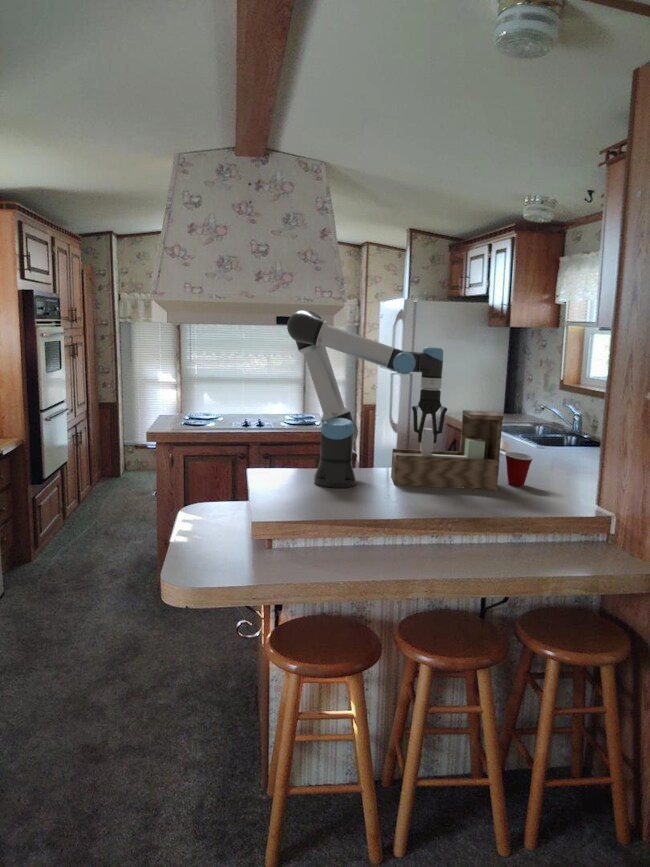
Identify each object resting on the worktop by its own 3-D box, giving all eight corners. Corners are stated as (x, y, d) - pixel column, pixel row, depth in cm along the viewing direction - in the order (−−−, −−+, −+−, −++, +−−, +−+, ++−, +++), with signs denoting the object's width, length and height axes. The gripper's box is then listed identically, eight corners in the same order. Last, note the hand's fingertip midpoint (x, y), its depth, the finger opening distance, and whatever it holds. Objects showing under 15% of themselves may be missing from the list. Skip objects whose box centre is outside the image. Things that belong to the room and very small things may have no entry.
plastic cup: (525, 489, 246) (528, 458, 245) (497, 484, 253) (500, 453, 251) (535, 485, 255) (538, 454, 253) (508, 480, 261) (511, 450, 260)
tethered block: (423, 457, 246) (425, 430, 245) (420, 454, 253) (422, 427, 251) (483, 460, 246) (486, 433, 244) (479, 456, 253) (481, 430, 251)
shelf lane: (394, 484, 244) (398, 411, 240) (390, 476, 258) (395, 406, 254) (496, 489, 244) (503, 416, 240) (488, 481, 258) (494, 411, 254)
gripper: (410, 388, 242) (406, 452, 246) (454, 391, 242) (449, 454, 246) (407, 387, 249) (403, 448, 253) (450, 389, 249) (445, 450, 253)
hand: (426, 451), depth 249 cm, fingers closed on tethered block, 3 cm apart
